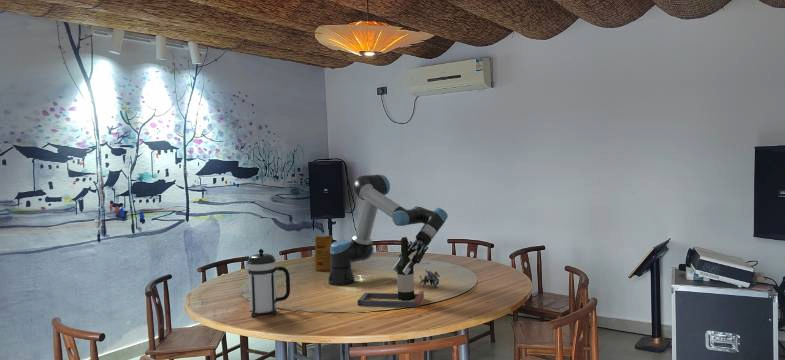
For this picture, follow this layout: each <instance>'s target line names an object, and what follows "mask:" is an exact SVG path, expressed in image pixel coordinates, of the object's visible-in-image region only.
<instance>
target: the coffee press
mask: <svg viewBox="0 0 785 360" xmlns="http://www.w3.org/2000/svg"><path fill="white" fill-rule="evenodd" d="M264 252H265V251H264V249H263V248H260V249H259V250H258V253H256V254H253V255H250V256H249V257H248V259H247V260H246V263H245V265H244V267H243V268H247V274H248V294H249V297H248V298H249V311H250V312H251V314H250V316H251V317H252V318H256V316H257V314H265V313H267V314H268V313H270V314H272V316H275V315H277V313H278V312H277V310H276V308H277V302H283V301H285V300H287V299H288V298H289V296H290V294H291V282H290V281H291V277H290V272H289V270H288V269H287V268H286V267H285V266H276V262H277V261H276V258H275V255H273V254H270V253H264ZM277 271H279V272H280V271H281V272H283V273H284V275H285V288H286V289H285V294H284V295H283V296H279V297H277V290H276V289H277V288H276V286H277V284H276V272H277Z"/></svg>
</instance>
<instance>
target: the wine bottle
mask: <svg viewBox="0 0 785 360" xmlns="http://www.w3.org/2000/svg"><path fill="white" fill-rule="evenodd" d="M408 244H409V239H408V237H407V236H402V237H401V239H400V245H401V246H400V253H401V254H402V256H401V258H400V257H399V259H400V260H399V259H398V260H399V262H398V263H397V262H396V263H397V272H396V274H397V278H396V279H397V280H396V281H397V293H398V299H397V301H413V300H415V299H414V294H415V283H414V282H415V280H414V279H415V277H414V274H415V273H414V267H413V268H412V269H411V270H410V271H409V273H408V274H407V275H406V274H405V273H404V272H403V270H404V269H405V267H406V266H407V264H408V263H409V262H410V261H411V258H410V257H409V256H408Z"/></svg>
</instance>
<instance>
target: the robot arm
mask: <svg viewBox="0 0 785 360" xmlns="http://www.w3.org/2000/svg"><path fill="white" fill-rule="evenodd" d="M390 189H391V184H390V181H389V179H388V177H387V176H386V175H384V174H368V175H365V174H364V175H360V176H358V177H357V178H356V179H354V181H353V184H352V191H353V193H354V194H355V196H356V197H358V198H359V199H360V200H362V201H363V205H362V208H361V213H360V216H359V219H358V220H359V221H358V224H357V228H356V232H355V234H353V236H352V237H351V241H350V240H348V239H347V240H346V239H343V240H337V241H334V242H332V244H331V246H330V256H331V270H329V271H330V272H329V275H328V278H327V283H328V284H329V285H333V286H347V285H352V284H353V283H355V281H356V279H355V275H354V273H353V270H352V269H353V268H352V263H355V262H360V261H362V262H363V261H365V260H368V259H369V258H371V257H372V256H373V254H374V248H375V247H374V244H373V241H372V239H371V235H372V231H373V228H374V223H375V220H376V215H377V213H378V210H380V211H381V212H383V213H384V214H385V215H387V216H389V218H391V219H392V222H393V223H394V225H395V226H397V227H404V226H411V225H417V224H423V226H422V227H421V228H420V231H418V233H417V234H416V235H415V240H414V241H412V240H410V241H408V257H409V256H411V255H412V254H413V253H414V254H413V256H412V258H410V260H411V261H410V262H409V263H408V264H407V266H406V267H405V269H404V270H403V272H404V273H405V274H406V275H407V274H408V273H409V271H410V270H411V269H412V268H413V269H414V266H415V265H417V264H418V265H419V264H420V263H421V261H422V259H423V257H424V256H425V254H426V252H427V251H428V249H429V247H428V246H429V244H430V243H431V242H432V240H433V239H434V238H435V236H436V234H438V232H439V231H440V229H441V228H442V227H443V225H444V224H445V223H446V221H447V219H448V217H449V215H448V213H447V212H446V211H445V210H444V209H443V208H441V207H437V208H435V209H434V210H431V209H427V208H424V207H423V206H417V205H415V206H414V207H413V208H411V209H406V208H404V207H403V206H401V205H400V204H398V203H396V202H395V201H393V200H392V199H391V198H389V197H388V196H386V195H387V194H389V192H390ZM401 256H402V254H401V252H400V253H399V254H398V257H399V259H398V260H397V261H396V263H395V264H394V265H393V266H392V269H393V270H394V272H396V273H397V263H398V262H399V260H400V258H401Z"/></svg>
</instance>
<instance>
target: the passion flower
mask: <svg viewBox="0 0 785 360" xmlns="http://www.w3.org/2000/svg"><path fill="white" fill-rule="evenodd" d="M425 272H426V274H425V275H424V279H423V278H422V276H421V275H420V276H419V279H420V280H421V281H419V285H420V284H422V287H424V286H425V285H426V283H427V284H430V286H432V285H433V286H434V288H435V289H439V285H440V284H439V283H440V279H439V278H440V277H441V276H440V274H439V273H438V272H437V271H434V272H433V271H431V270H427V269H425Z"/></svg>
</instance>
